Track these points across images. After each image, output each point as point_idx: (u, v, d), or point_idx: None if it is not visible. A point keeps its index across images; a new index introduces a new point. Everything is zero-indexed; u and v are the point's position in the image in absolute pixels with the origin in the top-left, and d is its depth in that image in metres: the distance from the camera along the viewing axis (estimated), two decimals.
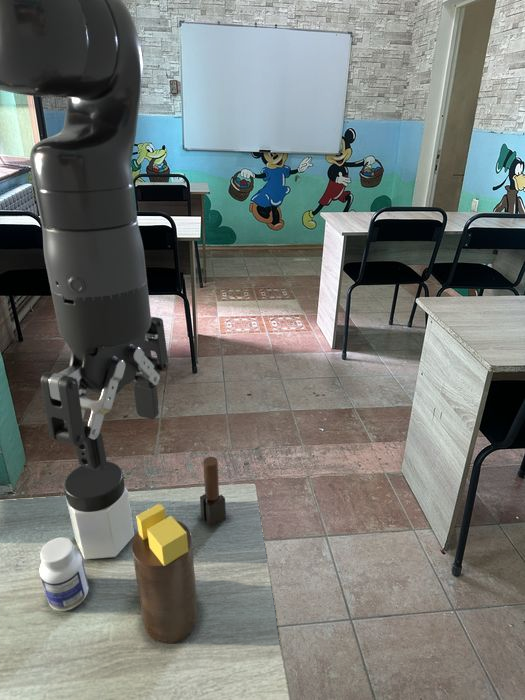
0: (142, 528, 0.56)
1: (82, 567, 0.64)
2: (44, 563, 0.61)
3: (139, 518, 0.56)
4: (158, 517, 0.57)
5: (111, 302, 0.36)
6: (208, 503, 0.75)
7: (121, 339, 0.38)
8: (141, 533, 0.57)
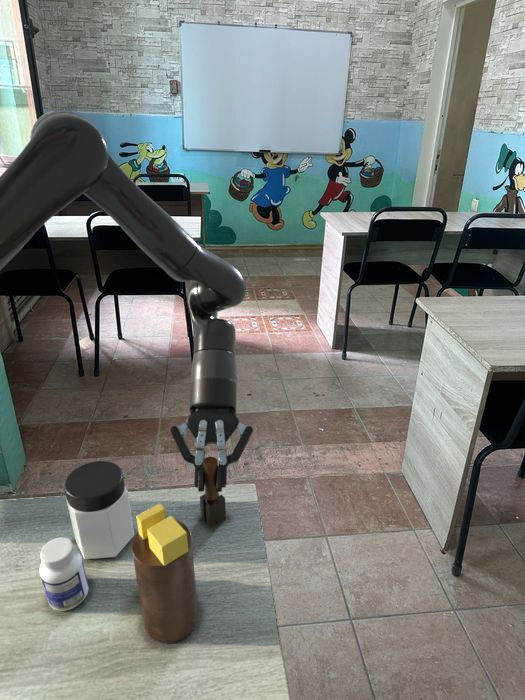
0: (142, 528, 0.56)
1: (82, 567, 0.64)
2: (44, 563, 0.61)
3: (139, 518, 0.56)
4: (158, 517, 0.57)
5: None
6: (208, 503, 0.75)
7: None
8: (141, 533, 0.57)
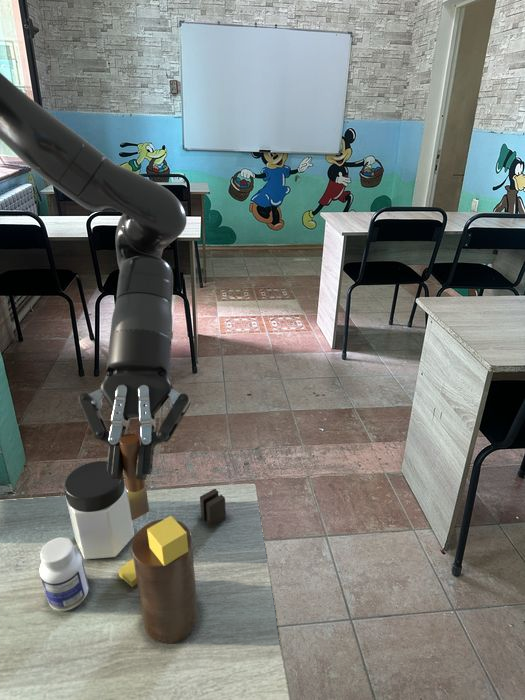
0: (127, 582, 0.68)
1: (82, 567, 0.64)
2: (44, 563, 0.61)
3: (132, 584, 0.67)
4: None
5: None
6: (208, 503, 0.75)
7: None
8: (122, 577, 0.68)
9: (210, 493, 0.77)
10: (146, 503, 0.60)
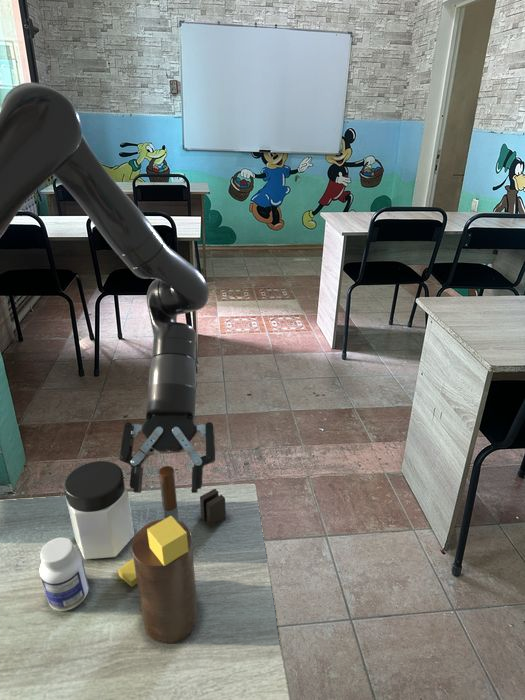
0: (127, 582, 0.68)
1: (82, 567, 0.64)
2: (44, 563, 0.61)
3: (132, 584, 0.67)
4: None
5: None
6: (208, 503, 0.75)
7: None
8: (122, 577, 0.68)
9: (210, 493, 0.77)
10: (177, 519, 0.76)
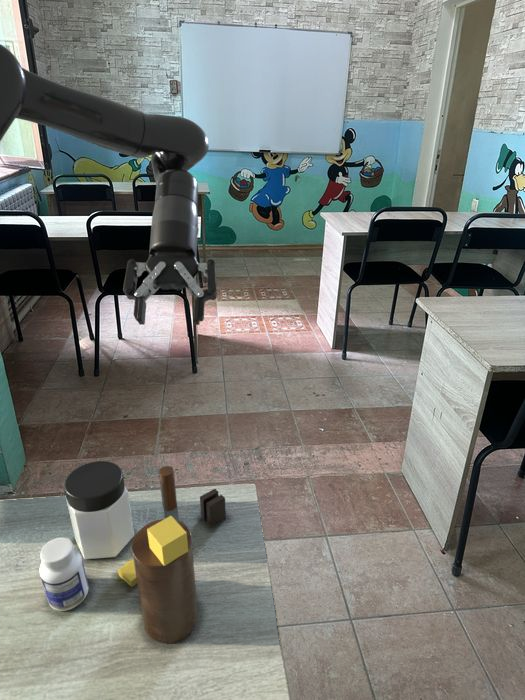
0: (127, 582, 0.68)
1: (82, 567, 0.64)
2: (44, 563, 0.61)
3: (132, 584, 0.67)
4: None
5: None
6: (208, 503, 0.75)
7: None
8: (122, 577, 0.68)
9: (210, 493, 0.77)
10: (177, 519, 0.76)
